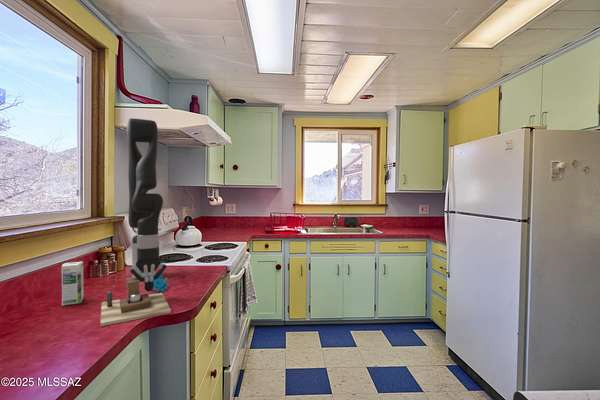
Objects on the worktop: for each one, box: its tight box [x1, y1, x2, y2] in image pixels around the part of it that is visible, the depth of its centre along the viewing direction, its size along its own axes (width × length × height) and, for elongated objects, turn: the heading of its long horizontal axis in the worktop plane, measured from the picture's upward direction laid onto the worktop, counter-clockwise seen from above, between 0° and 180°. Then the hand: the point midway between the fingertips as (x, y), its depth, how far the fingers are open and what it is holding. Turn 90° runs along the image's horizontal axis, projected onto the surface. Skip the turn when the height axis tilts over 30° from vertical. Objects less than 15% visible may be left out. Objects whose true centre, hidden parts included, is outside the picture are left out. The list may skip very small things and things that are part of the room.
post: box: [130, 293, 141, 303], centre depth 105 cm, size 3×3×4 cm
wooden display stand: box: [119, 276, 151, 313], centre depth 107 cm, size 14×9×8 cm, turn 33°
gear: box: [148, 272, 169, 293], centre depth 124 cm, size 11×6×10 cm
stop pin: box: [106, 290, 113, 307], centre depth 104 cm, size 2×2×5 cm
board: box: [100, 292, 172, 327], centre depth 105 cm, size 20×20×1 cm
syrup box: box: [61, 261, 84, 306], centre depth 110 cm, size 6×6×14 cm
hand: (148, 290), depth 114 cm, fingers closed
